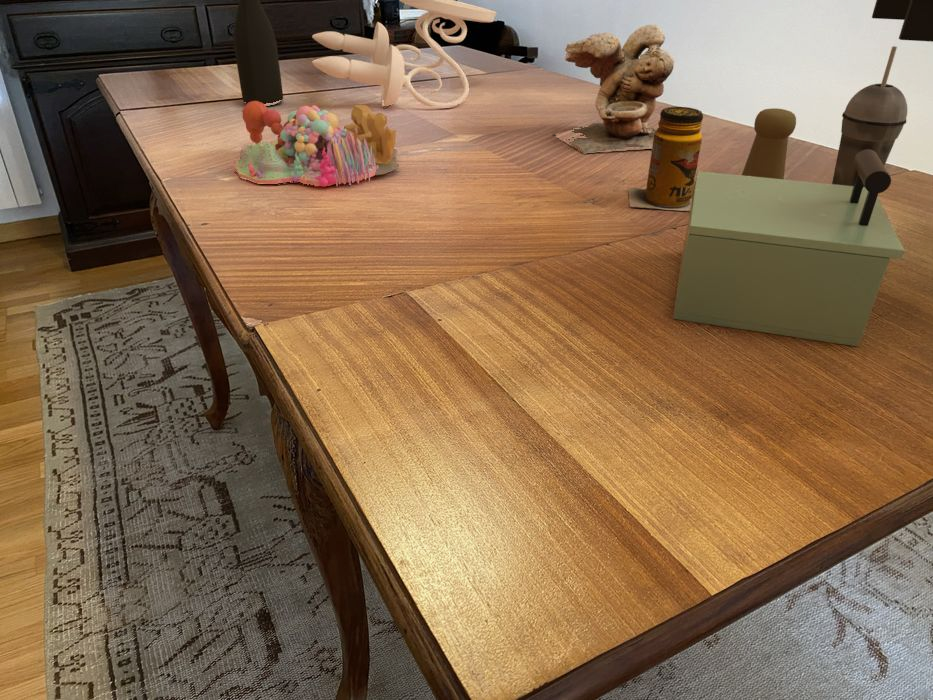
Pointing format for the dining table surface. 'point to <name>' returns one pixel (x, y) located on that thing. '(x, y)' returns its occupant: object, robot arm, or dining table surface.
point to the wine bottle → (256, 54)
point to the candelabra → (389, 60)
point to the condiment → (672, 161)
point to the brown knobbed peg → (770, 144)
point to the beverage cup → (870, 125)
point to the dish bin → (777, 288)
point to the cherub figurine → (622, 87)
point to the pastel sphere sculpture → (316, 146)
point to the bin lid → (799, 211)
